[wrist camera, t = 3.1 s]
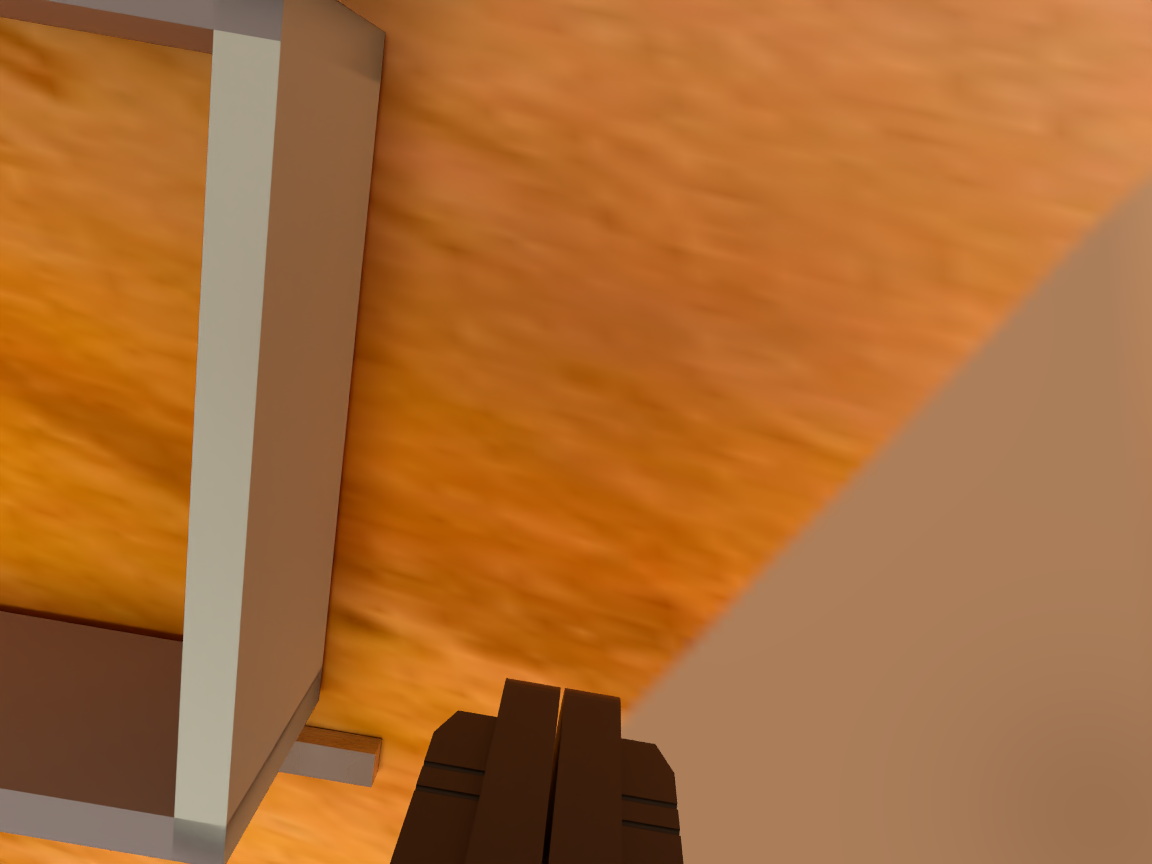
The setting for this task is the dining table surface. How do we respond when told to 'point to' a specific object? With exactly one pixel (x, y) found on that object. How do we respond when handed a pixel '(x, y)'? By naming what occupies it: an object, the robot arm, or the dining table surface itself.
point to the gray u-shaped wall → (222, 455)
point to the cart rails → (334, 756)
